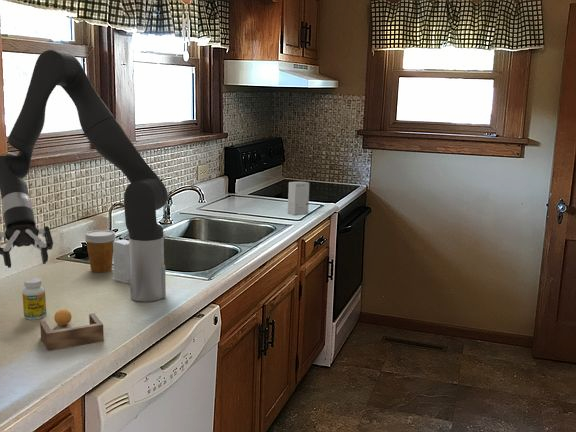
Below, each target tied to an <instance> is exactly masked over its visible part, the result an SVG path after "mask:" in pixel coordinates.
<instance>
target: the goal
mask: <svg viewBox="0 0 576 432" xmlns="http://www.w3.org/2000/svg"><path fill="white" fill-rule="evenodd" d="M88 316H89V317H88V319H89V320H88V322H89V324H86V325H79V326H74V327H68V328H61V329H55V330H51V328H50V325H48V324H49V323H48V322H47V321H46V320H42V321H39V324H40V325H39V327H40V330H39V331H40V339H41V341H42V343H43V345H44V347H45V348H46V350H47V351H48V352H49V351H55V350H60V349H64V348H65V349H66V348H69V347H75V346H76V347H77V346H82V345H88V344H92V343H94V344H95V343H99V342H104V341H105V338H104V337H105V336H104V323H102V321H101V320H100V319H99V317H98V316H97V315H96V314H95V313H89V314H88Z"/></svg>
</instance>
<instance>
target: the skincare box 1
mask: <svg viewBox="0 0 576 432" xmlns="http://www.w3.org/2000/svg"><path fill="white" fill-rule="evenodd" d="M113 279H114V280H115V281H116V282H121V283H125V284H130V256H129V239H118V240H114V241H113Z"/></svg>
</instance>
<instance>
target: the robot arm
mask: <svg viewBox="0 0 576 432" xmlns="http://www.w3.org/2000/svg"><path fill="white" fill-rule="evenodd" d="M85 71H86V70H85V69H84V67H83V66H82V64H81V63H80V61H79V60H78V58H77V57H76V56H75V55H74V54H71V53H70V52H67V51H62V50H57V49H48V50H44V51H43V52H41V53H40V54H39V55H38V57H37V60H36V61H35V65H34V67H33V71H32V73H31V79H30V82H29V84H28V88H27V92H26V96H25V98H24V101H23V104H22V107H21V110H20V112H19V114H18V116H17V118H16V121H15V123H14V124H13V126H12V129H11V131H10V133H9V135H8V138H7V142H8V144H9V145H10V147H12V148H14V149H16V150H18V151H19V152H18V153H14V152H9V151H7V152H8V153H7V155H6V156H0V198H1V209H2V216H3V221H4V222H3V223H4V227H5V232H2V231H1V232H0V242H1V241H3V238H5V239H6V240H7V243H6V244H5V246H4V247H0V255H1V256H2V258H3V263H4V266H5V267H7V268H8V269H10V268H12V261H11V260H12V259H11V251H12V250H13V249H15V247H16V248H21V247H30V246H33V247H34V248H35V249H38V250H39V251H40V256H41V261H42V263H41V264H42V265H46V263H47V262H48V260H49V255H48V251H49V250H52V249H53V245H54V240H53V237H52V233H51V229H50V227H49V226H45V227H44V228H38V227H37V225H36V220H35V219H36V218H35V216H34V215H35V214H34V209H33V205H32V204H33V203H32V201H31V198H30V193H29V188H28V184H27V182H26V181H25V180H24V178H25V177H27V176H28V174H29V172H30V169H31V165H32V164H31V162H32V156H33V153H34V148H35V145H36V143H37V141H38V140H39V137H40V135H41V133H42V131H43V129H44V126H45V122H46V110H47V109H46V107H47V103H48V100H49V99H50V96H51V94H52V93H53V91H54V90H55V88H56V86H60V87H61V88H62V89H63V90H64V91H65V92H66V94H67V96H69V98H70V100H72V102H73V104H74V106H75V109H76V110H77V116H78V120H79V125H80V126H81V130H82V131H83V134H84V135H85V137H86V138H87V140H88V141H89V143H90V144H91V146H92V147H93V148H94V149H95V150H96V152H97V153H98V154H100V156H101V157H103V158H104V159H105V160H106V161H108V162H109V163H110V164H111V165H113V166H114V167H116V168H117V169H119V170H120V171H121V172H122V173H123V175H124V176H125V177H126V179H127V180H128V182H129V184H128V185H127V187H126V188H125V191H124V195H123V197H124V198H123V208H124V220H125V221H124V222H125V226H126V230H127V232H128V241H129V256H130V283H129V284H130V285H129V288H130V289H129V292H130V299H131V300H133V301H135V302H142V303H144V302H154V301H155V302H156V301H159V300H162V299H166V297H167V296H166V295H167V293H166V288H167V287H166V265H165V261H164V260H165V258H164V256H165V255H164V254H165V253H164V252H165V251H164V227H163V226H162V225H161V224H158V221H157V211H158V210H160V209H162V208H163V207H164V206H166V204H167V201H168V197H169V195H168V194H169V193H168V190H167V188H166V185H165V184H164V182H163V181H162V179H160V177H159V176H158V175H157V174H156V173H155V171H154V170H153V169H152V167H150V166H149V164H148V163H147V162H146V161H145V160H144V158H143V157H142V156H141V154H140V152H139V151H138V150H137V148H136V146H135V145H134V144H133V142H132V141H131V140H130V138H129V136H128V135H127V134H126V133H125V131H124V129H123V127H122V126H121V125H120V123H119V122H118V120H117V119H116V118H115V116H114V115H113V113H112V112H111V110H110V109H109V107H108V106H107V105H106V103H105V102H104V100H103V99H102V98H101V97H100V95H99V93H98V92H97V90H96V89H95V87H94V86H93V85H92V82H91V81H90V79H89V77H88V75H87V74H86V72H85ZM39 235H41V237H42V238H44V240H45V242H44V241H42V239H41V238H40V237H39Z"/></svg>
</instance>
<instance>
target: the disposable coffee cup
mask: <svg viewBox="0 0 576 432" xmlns="http://www.w3.org/2000/svg"><path fill="white" fill-rule="evenodd" d="M116 237H117V236H116V234H115V232H114V231H113V230H109V229H97V230H96V229H94V230H91V231H87V232H86V233H85V236H84V237H83V238H84V240H85V242H86V243H85V244H86V248H87V254H88V259H89V265H90V271H91V272H93V273H107V272H111V271H112V267H113V261H114V258H113V241H116Z"/></svg>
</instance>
